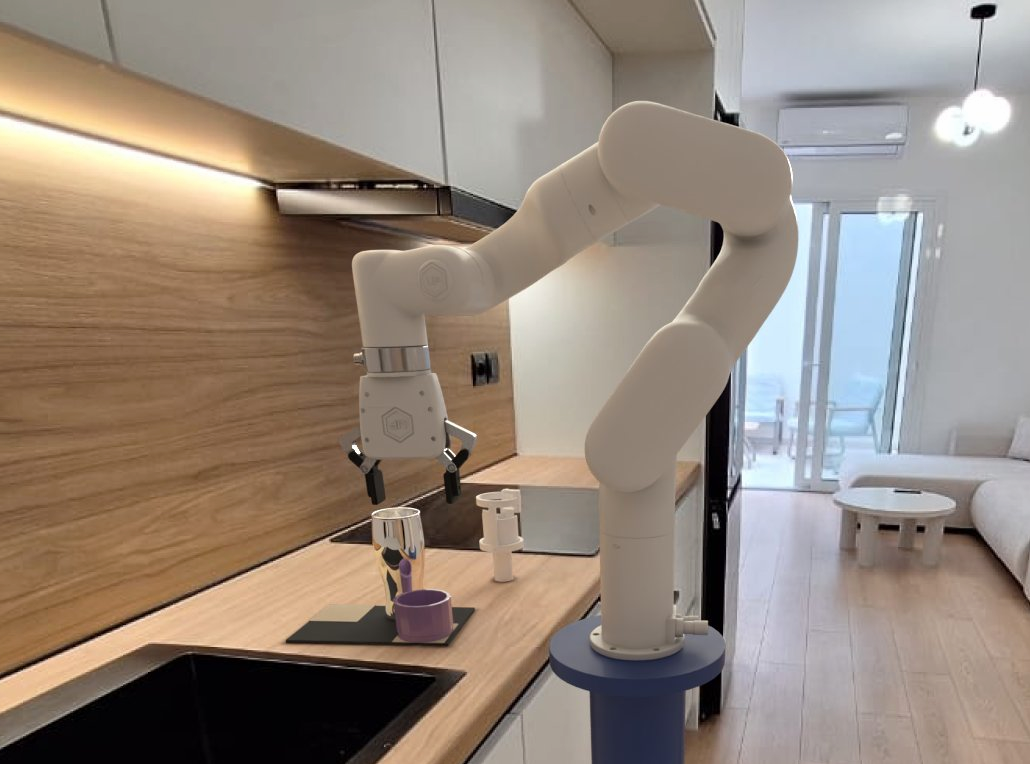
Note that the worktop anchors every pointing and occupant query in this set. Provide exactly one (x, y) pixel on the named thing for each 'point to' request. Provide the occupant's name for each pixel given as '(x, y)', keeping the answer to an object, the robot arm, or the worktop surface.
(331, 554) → the worktop surface
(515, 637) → the worktop surface
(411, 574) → the beer glass
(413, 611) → the dish
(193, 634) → the worktop surface
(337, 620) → the place mat
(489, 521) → the white tall plastic stand
